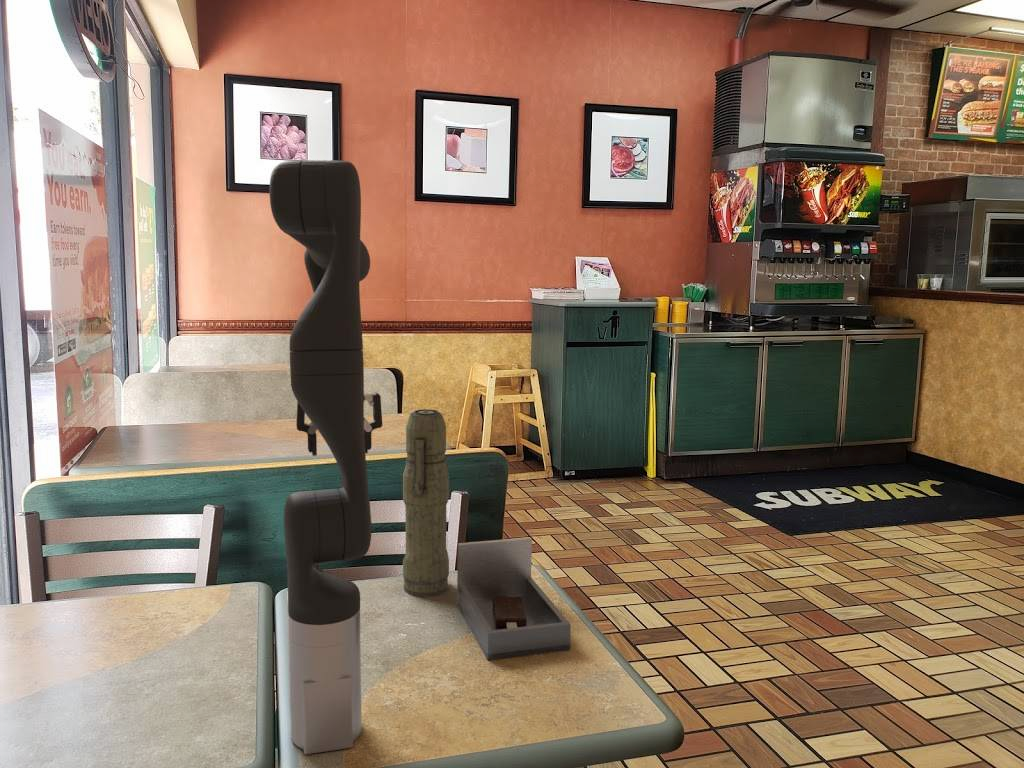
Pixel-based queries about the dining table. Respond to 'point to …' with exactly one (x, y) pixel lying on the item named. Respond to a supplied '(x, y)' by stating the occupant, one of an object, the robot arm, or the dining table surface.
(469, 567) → the silver tray
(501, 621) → the ice cream bar
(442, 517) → the thermos
